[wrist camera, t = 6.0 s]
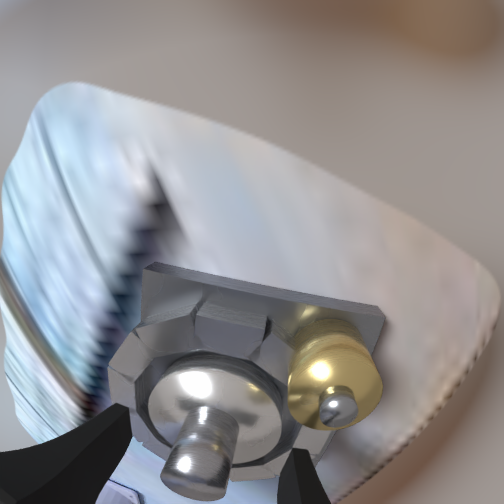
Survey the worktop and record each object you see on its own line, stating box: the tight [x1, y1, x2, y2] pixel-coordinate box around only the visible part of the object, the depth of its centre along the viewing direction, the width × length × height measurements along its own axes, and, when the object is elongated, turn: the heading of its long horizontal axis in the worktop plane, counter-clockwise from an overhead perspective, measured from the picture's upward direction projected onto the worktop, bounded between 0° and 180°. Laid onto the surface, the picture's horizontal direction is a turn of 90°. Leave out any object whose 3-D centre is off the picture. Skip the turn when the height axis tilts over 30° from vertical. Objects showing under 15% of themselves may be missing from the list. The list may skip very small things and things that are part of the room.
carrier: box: [108, 262, 386, 482], centre depth 11 cm, size 11×11×5 cm
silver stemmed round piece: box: [148, 354, 282, 501], centre depth 10 cm, size 6×6×5 cm
